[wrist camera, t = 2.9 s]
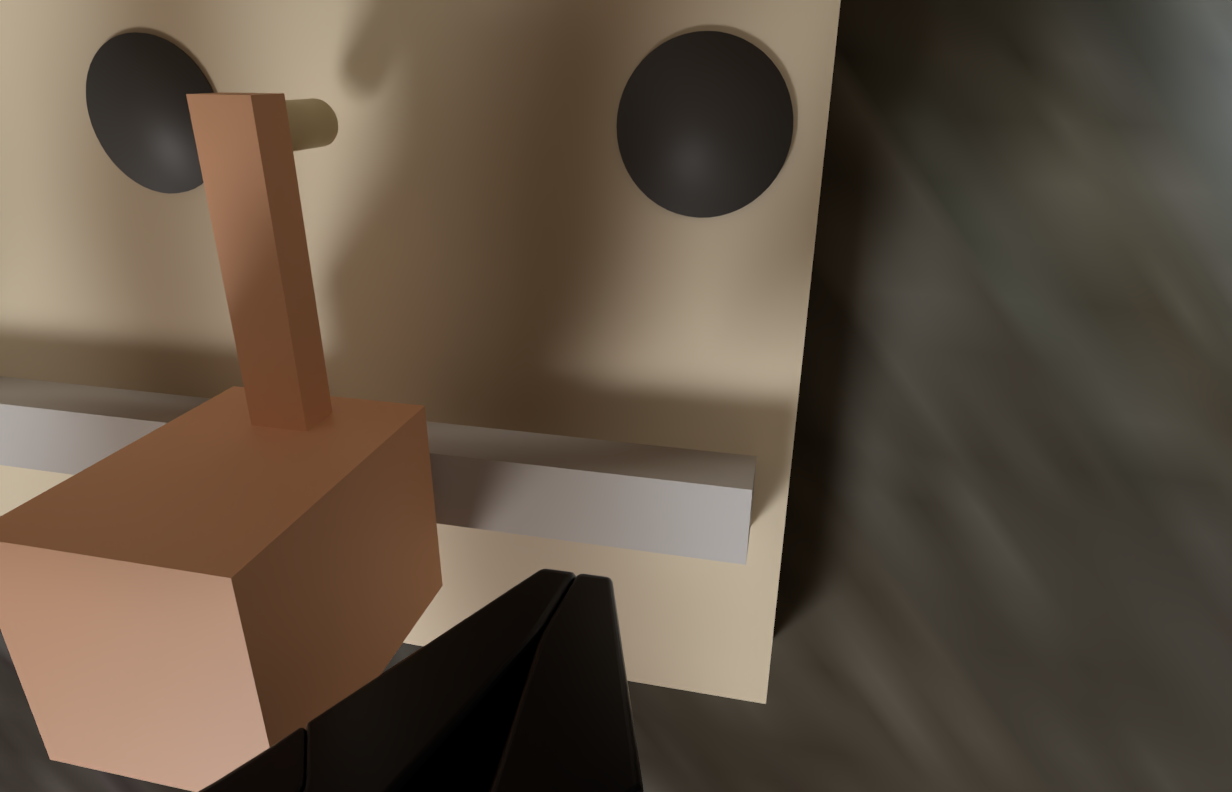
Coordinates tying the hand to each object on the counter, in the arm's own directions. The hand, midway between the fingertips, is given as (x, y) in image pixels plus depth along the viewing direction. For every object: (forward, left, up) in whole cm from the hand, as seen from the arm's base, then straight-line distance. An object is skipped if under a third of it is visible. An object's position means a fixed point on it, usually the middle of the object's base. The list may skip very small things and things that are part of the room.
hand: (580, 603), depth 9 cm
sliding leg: (+4, -2, -2) cm, 5 cm away
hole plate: (+7, -1, -5) cm, 9 cm away
